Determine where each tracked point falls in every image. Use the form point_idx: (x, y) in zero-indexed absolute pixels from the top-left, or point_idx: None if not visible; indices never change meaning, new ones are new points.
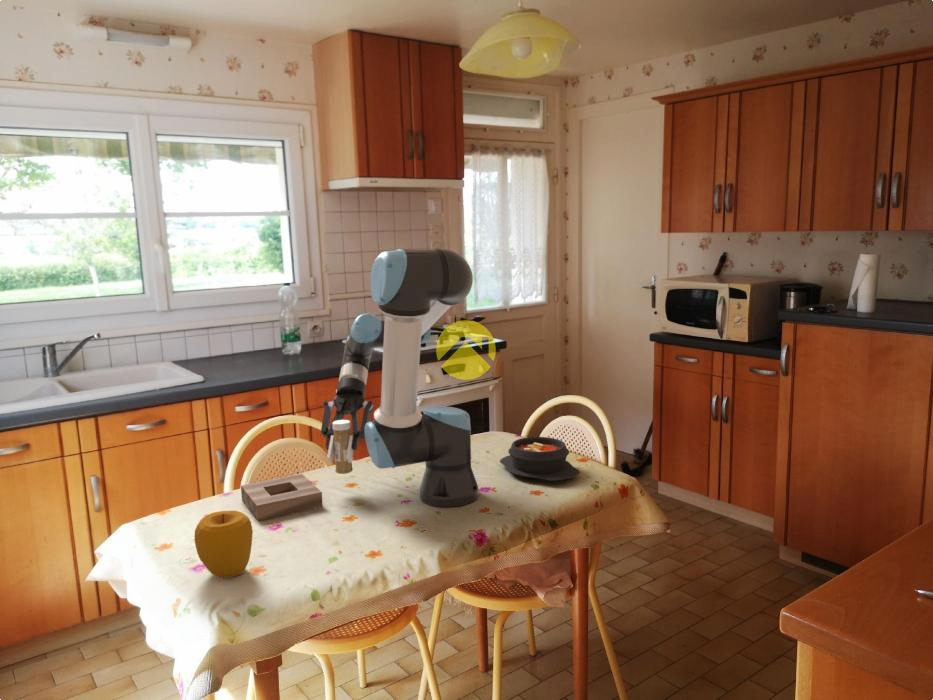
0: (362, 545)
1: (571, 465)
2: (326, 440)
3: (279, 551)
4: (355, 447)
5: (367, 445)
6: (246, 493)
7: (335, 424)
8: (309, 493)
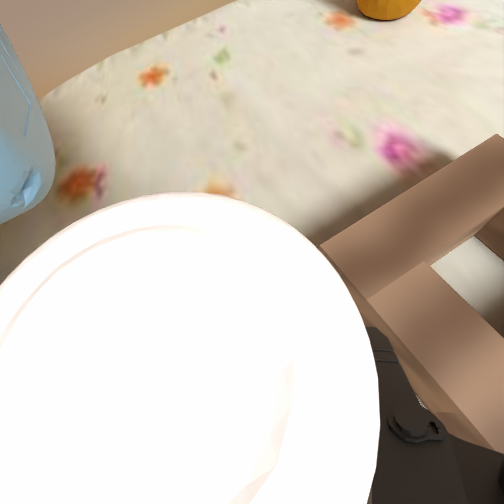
0: (175, 97)
1: None
2: (406, 377)
3: (330, 65)
4: None
5: (8, 121)
6: None
7: (259, 210)
8: (361, 229)
